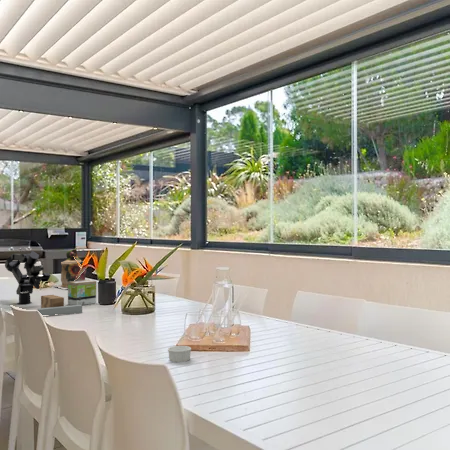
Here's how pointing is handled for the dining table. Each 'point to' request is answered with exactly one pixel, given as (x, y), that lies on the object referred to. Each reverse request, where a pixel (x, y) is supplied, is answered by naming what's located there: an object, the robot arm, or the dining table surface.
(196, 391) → the dining table surface
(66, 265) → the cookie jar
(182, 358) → the ramekin
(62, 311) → the gray bar
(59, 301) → the walnut block
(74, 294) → the tea box
